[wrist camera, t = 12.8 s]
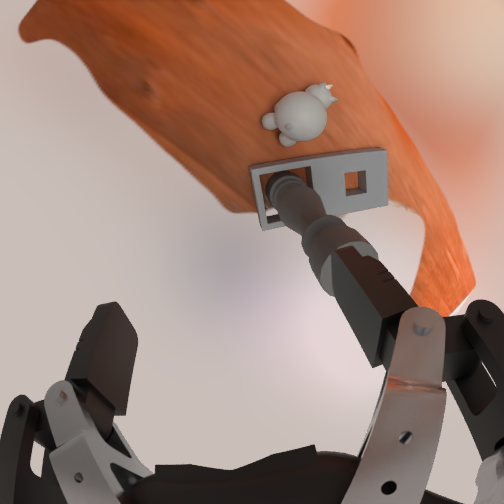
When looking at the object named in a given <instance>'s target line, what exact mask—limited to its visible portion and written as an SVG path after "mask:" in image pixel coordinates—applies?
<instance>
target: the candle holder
mask: <svg viewBox="0 0 504 504" xmlns="http://www.w3.org/2000/svg"><path fill="white" fill-rule="evenodd" d="M266 195H267V197H268V199H269V201H270V203H271V205H272V206H273V207H274V208H275V209H276V210H277V211H278V214H279V217H280V219H281V221H282V222H283V223H284V224H285V225H286V226H287V227H288V228H290V229H292V230H293V231H295V232H297V233H298V234H300V235H301V236H302V247H303V249H304V252H305V254H306V255H307V256H308V257H309V263H310V265H311V268H312V271H313V272H314V274H315V276H316V278H317V279H318V281H319V283H320V285H321V286H322V288H323V290H324V291H326V292H327V293H328V294H329V295H330V296H334V292H333V287H332V267H331V252H332V250H335V249H339V248H343V247H346V246H350V245H352V246H354V247H355V248H356V250H357V251H358V252H359V253H360V254H361V255H362V257H363V256H367V255H369V256H371V257H373V258H375V259H377V260H378V253H377V252H376V250H375V249H374V248H373V246H372V245H371V244H370V243H369V242H368V241H367V240H366V239H365V238H364V237H363V236H362V235H360V234H359V233H358V232H357V231H356V230H355V229H353V228H350V227H348V226H347V225H346V224H345V223H344V222H343V221H342V220H341V219H340V218H338V217H336V216H333V215H327V213H326V210H325V208H324V205H323V202H322V200H321V197H320V196H319V194H318V193H317V192H316V191H315V190H314V189H312V188H310V187H307V185H306V183H305V182H304V181H303V180H302V179H301V178H300V177H298V176H297V175H296V174H294V173H292V172H290V171H280V172H278V173H275V174H274V175H273V176H272V177H271V178H270V179H269V180H268V182H267V185H266ZM334 297H335V296H334Z"/></svg>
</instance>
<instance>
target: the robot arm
mask: <svg viewBox="0 0 504 504" xmlns="http://www.w3.org/2000/svg"><path fill="white" fill-rule="evenodd" d="M331 267H332V287H333V292H334V296H335V298H336V300H337V303H338V304H339V306H340V308H341V309H342V312H343V313H344V315H345V317H346V319H347V321H348V322H349V324H350V326H351V328H352V330H353V332H354V334H355V336H356V337H357V339H358V341H359V343H360V345H361V347H362V349H363V351H364V352H365V355H366V356H367V358H368V360H369V362H370V364H371V366H372V368H374V367H377V366H379V365H382V364H383V366H384V368H385V370H386V374H385V377H384V381H383V384H382V388H381V391H380V395H379V398H378V401H377V405H376V408H375V411H374V414H373V417H372V420H371V423H370V425H369V428H368V430H367V433H366V435H365V438H364V441H363V443H362V446H361V448H360V451H359V453H358V455H357V457H356V456H354V455H349V454H346V453H340V452H329V451H320V452H316V448H315V445H310V446H306V447H302V448H298V449H295V450H290V451H286V452H281V453H276V454H273V455H270V456H268V457H265V458H263V459H260V460H258V461H256V462H253V463H251V464H248V465H246V466H243V467H240V468H237V469H234V470H223V469H215V468H209V467H203V466H197V465H192V464H186V465H155V474H153V473H152V472H151V471H150V470H149V469H148V468H147V467H145V466H144V465H143V464H142V463H141V462H140V461H139V459H138V458H137V456H136V455H135V453H134V452H133V450H132V449H131V447H130V446H129V444H128V443H127V441H126V440H125V438H124V436H123V435H122V433H121V431H120V430H119V428H118V426H117V425H116V424H115V423H114V422H113V418H114V416H116V415H117V416H119V415H121V416H123V415H126V409H127V402H128V396H129V390H130V384H131V378H132V373H133V367H134V362H135V357H136V352H137V347H138V337H137V333H136V331H135V329H134V327H133V326H132V324H131V323H130V321H129V319H128V318H127V316H126V315H125V313H124V311H123V310H122V308H121V306H120V305H119V304H118V303H117V302H110V303H106V304H101V305H98V306H97V308H96V310H95V312H94V315H93V317H92V319H91V320H90V321H89V323H88V324H87V325H86V326H85V328H84V329H83V331H82V333H81V336H80V338H79V342H78V344H77V346H76V351H74V354H73V357H72V360H71V362H70V365H69V368H68V372H67V374H66V377H65V380H63V381H58V382H56V383H55V384H53V385H52V386H51V387H50V388H49V390H48V391H47V393H46V395H45V399H44V400H41V401H38V402H36V403H33V402H32V401H31V400H30V399H29V398H28V397H27V396H25V395H19V396H17V397H16V398H14V400H13V401H12V402H11V404H10V406H9V408H8V411H7V415H6V419H5V422H4V427H3V430H2V434H1V439H0V504H463V503H460V502H457V501H454V500H451V499H449V498H446V497H443V496H441V495H438V494H436V493H433V492H431V491H428V490H426V489H425V488H426V485H427V482H428V479H429V476H430V473H431V469H432V465H433V462H434V459H435V455H436V451H437V446H438V442H439V438H440V433H441V428H442V423H443V418H444V412H445V405H446V396H447V394H446V389H445V388H442V382H444V381H446V383H447V385H448V387H449V389H450V390H451V392H452V394H453V396H454V398H455V400H456V402H457V404H458V406H459V408H460V411H461V412H462V414H463V417H464V419H465V421H466V423H467V425H468V428H469V430H470V432H471V434H472V437H473V439H474V441H475V444H476V446H477V449H478V451H479V454H480V456H481V459H482V461H483V462H482V464H481V466H480V468H479V470H478V474H477V477H476V485H477V486H478V494H477V497H476V500H475V502H474V504H504V314H503V312H502V311H501V310H500V309H499V308H498V307H497V306H496V305H495V304H494V303H492V302H490V301H487V300H475V301H473V302H471V303H470V304H469V306H468V308H467V310H466V313H465V314H464V315H457V316H449V317H442V316H441V315H440V314H439V313H438V312H436V311H435V310H433V309H431V308H427V307H419V306H418V305H417V304H416V303H415V302H414V300H413V299H412V298H411V297H410V295H409V294H408V293H407V292H406V291H405V289H404V288H403V287H402V286H401V285H400V284H399V282H398V281H397V280H395V279H394V277H393V275H392V274H391V273H390V272H388V270H387V269H386V267H385V266H384V265H383V264H382V263H381V262H380V261H379V260H377V259H375V258H373V257H371V256H369V255H367V256H363V257H362V255H361V254H360V253H359V252H358V251H357V250H356V248H355V247H354V246H352V245H350V246H346V247H343V248H339V249H335V250H332V252H331ZM482 362H483V364H484V365H485V367H486V368H487V370H488V372H489V373H490V375H491V377H492V378H493V380H494V382H495V384H496V386H495V385H494V383H493V381H492V379H491V378H490V376H489V374H488V373H487V371H486V369H485V368H484V366H483V365H482ZM34 441H35V442H37V443H38V444H40V445H41V446H43V447H44V448H45V452H44V458H43V466H42V475H41V478H40V477H38V476H37V475H35V474H34V473H33V471H32V470H31V467H30V460H31V453H32V447H33V442H34Z"/></svg>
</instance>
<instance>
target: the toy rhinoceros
mask: <svg viewBox="0 0 504 504" xmlns="http://www.w3.org/2000/svg"><path fill="white" fill-rule="evenodd" d="M332 86H333V85H326V83H325V82H323V83H320V84H314V85H311V86H309V87H308V88H307V89H306V90H305V92H302V91H298V92H292V93H289V94H287V95H286V96H284V97H283V98H282V99H281V100H280V101H279V102H278V103H276V104H275V106H274V112H275V113H268V114H266V115H264V116H263V118H262V125H263V127H264V128H266V129H268V130H274V129H276V128H279V130H280V131H281V133H280V135H279V141H280V143H281V144H282V145H283V146H287V147H289V146H292V145H294V144H295V143H296V142H297V141H308V140H312V139H314V138H316V137H317V136H319V135H320V134H321V133H322V131H323V130H324V128H325V126H326V123H327V112H326V109H327V108H328V107H329V106H330V105H331V103H333V102H336V101H338V100H339V99H338V98H335V97H333V96H332V94H331V92H330V91H329V89H330V88H331V87H332Z"/></svg>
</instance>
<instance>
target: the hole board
mask: <svg viewBox="0 0 504 504" xmlns="http://www.w3.org/2000/svg"><path fill="white" fill-rule="evenodd" d="M301 167H306V175H307V183H308V187H310V188H312V189H314V190H315V191H316V192H317V193H318V194H319V196H320V197H321V200H322V202H323V205H324V208H325V210H326V213H327V215H333V216H336V215H341V214H346V213H351V212H356V211H361V210H366V209H371V208H377V207H382V206H387V205H388V158H387V150H385V149H382V148H379V147H376V148H366V149H356V150H347V151H339V152H331V153H324V154H317V155H310V156H303V157H297V158H291V159H285V160H279V161H273V162H268V163H263V164H257V165H252V166H249V170H250V175H251V180H252V185H253V191H254V196H255V201H256V207H257V212H258V217H259V222H260V226H261V228H262V231H264V230H269V229H273V228H278V227H283V226H286V225H285V224H284V223H283V222H282V221H281V219H280V217H279V214H277V215H272V216H267V217H266V211H265V206H264V200H263V194H262V189H261V183H260V178H259V175H262V174H267V173H272V172H278V171H283V170H289V169H295V168H301ZM356 171H358V183H359V188H356V189H350V190H346V189H345V175H344V173H349V172H356Z"/></svg>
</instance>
